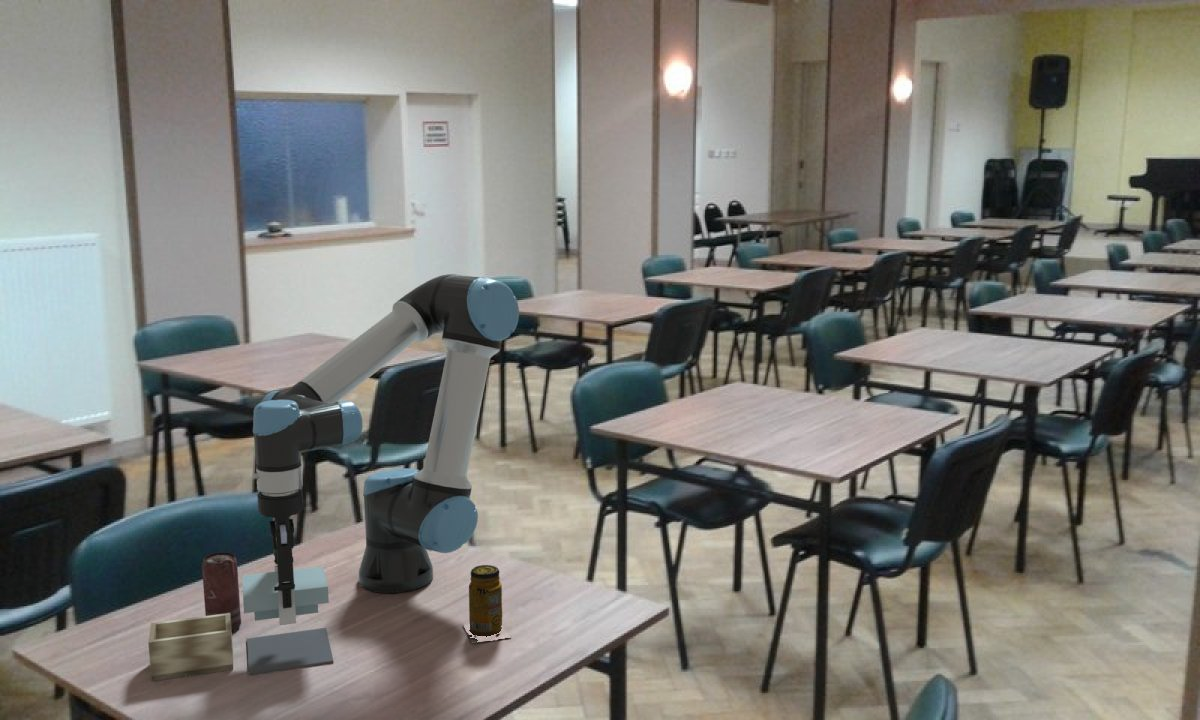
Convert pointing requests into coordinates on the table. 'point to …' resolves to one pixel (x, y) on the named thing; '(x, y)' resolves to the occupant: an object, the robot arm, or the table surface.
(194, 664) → the crate
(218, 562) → the can
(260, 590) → the lid
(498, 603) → the condiment
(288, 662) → the mat
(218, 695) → the table surface
